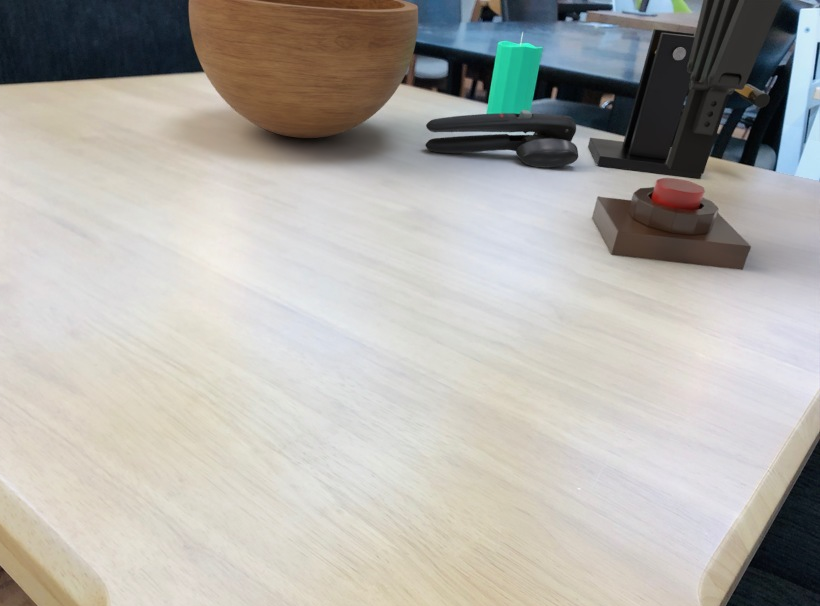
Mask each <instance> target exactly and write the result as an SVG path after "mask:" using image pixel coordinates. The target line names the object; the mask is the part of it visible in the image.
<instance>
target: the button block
mask: <svg viewBox="0 0 820 606" xmlns="http://www.w3.org/2000/svg"><path fill="white" fill-rule="evenodd" d="M654 187H655V186H651V187H649V186H648V187H640V188H638V189H637V190H635V191H634V192H633V193H632V197H631V199H624V198H614V197H604V196H596V197H597V198H596V200H595V205H594V209H593V212H592V217H591V219H592V221H593V223H594V225H595V227H596V229H597V230H598V232H599V234H600V236H601V238H602V240H603V241H604V243H605V245H606V248H607V249H608V251H609V253H610V255H611V256H617V257H626V258H627V257H628V258H633V259H634V258H635V259H644V260H652V261H660V262H669V263H678V264H687V265H696V266H703V267H704V266H705V267H713V268H721V269H729V270H740V271H742V270H743V269H744V266H745V264H746V262H747V259H748V256H749V254H750V252H751V248H752V246H751V245H750V244H749V242H748V241H747V240H745V239H744V238H743V236H741V234H739V232H738V231H737V230H735V229H734V227H733V226H732V225H730V223H729V222H728V221H727V220H726V219H725V218H724V217H723V216H722V215H721V213H719V211H720V208H719V207H718V206H717V205H716V204H715V203H714V202H713V201H712V200H710V199H707V198H705V197H703V198H702V201H701V204H700V207H699V209H697V210H686V209H678V208H673V207H669V206H665V205H661V204H659V203H657V202H655V201H653V200H651V197H652V194H653V190H654Z"/></svg>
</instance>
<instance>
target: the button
mask: <svg viewBox="0 0 820 606" xmlns="http://www.w3.org/2000/svg"><path fill="white" fill-rule="evenodd" d="M653 187H654V190H653V194H652V197H651V200H653V201H655V202H657V203H659V204H661V205H665V206H669V207H673V208H678V209H686V210H697V209H699V207H700V204H701V201H702V198H704V196H705V195H704V194H705V192H706V189H705V188H704V187H703V186H701V185H700V184H698V183H695V182H692V181H690V180H685V179H680V178H673V177H663V178H657V180H655V184H654V186H653Z"/></svg>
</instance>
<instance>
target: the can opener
mask: <svg viewBox="0 0 820 606" xmlns="http://www.w3.org/2000/svg"><path fill="white" fill-rule="evenodd" d="M425 127H426V129H427V130H428V131H430V132H432V133H494V134H478V135H461V136H460V135H458V136H445V137H434V138H431V139H429V140H428V141H427V142H426V143H425V148H426V149H427V150H429V152H433V153H440V154H441V153H443V154H470V153H471V154H472V153H480V152H490V151H493V152H494V151H512V152H515V154H516V156H517V157H518V158H519V159H520V160H521V162H522V163H524V164H525V165H528V166H530V167H535V168H558V167H564V166H567V165H571V164H572V163H575V162H576V161H577V160H579V150H578V146H577V145H576V144H575V143H574V142H572V141H573V139H574V137H575V135H576V132H577V124H576V121H575V119H573V117H571V116H569V115H563V114H562V115H560V114H549V113H547V114H546V113H532V111H527V110H522V111H521V113H520V114H516V113H495V114H486V113H479V114H468V115H467V114H466V115H456V116H447V117H439V118H433V119H431V120H429V121H428V122H427V123H426V124H425ZM495 133H496V134H495ZM508 133H524V134H508ZM528 133H532V134H528Z"/></svg>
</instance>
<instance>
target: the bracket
mask: <svg viewBox="0 0 820 606" xmlns="http://www.w3.org/2000/svg"><path fill="white" fill-rule="evenodd" d="M694 38H695V34H694V33H693V32H689V31H679V30H670V29H660V28H653V31H652V33H651V38H650V42H649V45H648V49H647V53H646V57H645V60H644V64H643V68H642V71H641V76H640V79H639V83H638V86H637V91H636V94H635V98H634V101H633V105H632V108H631V112H630V115H629V116H630V117H629V120H628V124H627V127H626V131H625V136H624V139H623V141H622V140H613V139H605V138H597V137H589V141H588V145H587V148H588V149H589V151H590V154H591V155H592V157H593V160H594V161H595V164H596V166H597V167H603V168H612V169H620V170H628V171H635V172H643V173H652V174H660V175H667V176H668V175H669V176H677V177H684V178H692V179H701V178H702V175H703V174H699V173H691V172H684V171H676V170H670V169H669V167H668V166H667V162H668V158H669V155H670V152H671V149H672V145H673V142H674V139H675V136H676V132H677V129H678V126H679V122H680V119H681V116H682V112H683V109H684V106H685V102H686V99H687V96H688V93H689V83H690V77H691V74H692V73H688V72H687V65H688V62H689V59H690V55H691V50H692V46H693V42H694ZM655 51H656V54H655Z"/></svg>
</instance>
